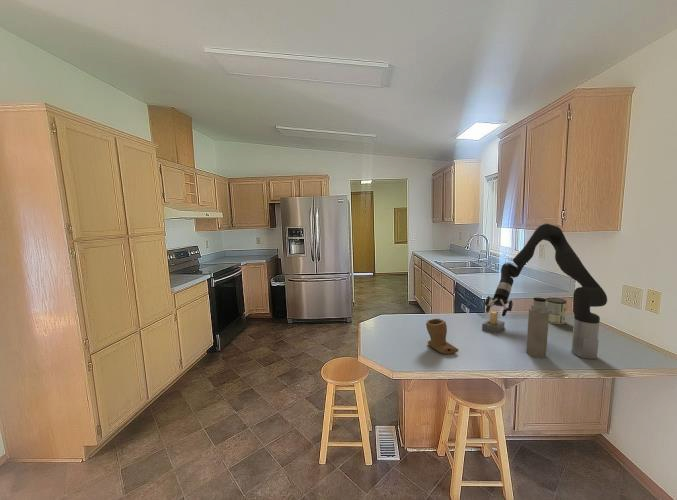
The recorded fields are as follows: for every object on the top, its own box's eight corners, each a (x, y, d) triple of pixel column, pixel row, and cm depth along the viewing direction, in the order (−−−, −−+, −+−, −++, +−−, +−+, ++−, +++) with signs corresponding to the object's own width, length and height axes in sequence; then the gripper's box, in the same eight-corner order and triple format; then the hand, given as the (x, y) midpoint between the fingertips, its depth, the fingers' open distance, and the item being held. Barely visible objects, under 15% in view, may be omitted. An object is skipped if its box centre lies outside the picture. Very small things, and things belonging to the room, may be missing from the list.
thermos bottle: (528, 348, 146) (531, 295, 143) (547, 353, 141) (551, 298, 137) (524, 354, 140) (528, 298, 137) (544, 359, 135) (548, 301, 132)
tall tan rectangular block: (492, 326, 172) (493, 310, 171) (496, 328, 170) (497, 311, 169) (489, 328, 170) (490, 312, 168) (494, 329, 168) (495, 313, 167)
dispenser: (490, 325, 177) (490, 316, 176) (504, 329, 171) (504, 320, 171) (481, 330, 169) (482, 321, 168) (496, 335, 163) (497, 325, 163)
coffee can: (544, 317, 189) (545, 296, 188) (563, 320, 184) (565, 298, 182) (545, 322, 181) (546, 300, 179) (565, 325, 175) (567, 303, 173)
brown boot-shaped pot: (421, 344, 154) (421, 317, 152) (441, 341, 156) (441, 314, 155) (438, 357, 139) (438, 327, 137) (459, 354, 142) (460, 324, 140)
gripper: (489, 286, 180) (480, 307, 173) (514, 290, 169) (506, 313, 163) (492, 292, 184) (484, 314, 177) (517, 297, 173) (509, 320, 167)
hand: (495, 314), depth 170 cm, fingers open, 8 cm apart
